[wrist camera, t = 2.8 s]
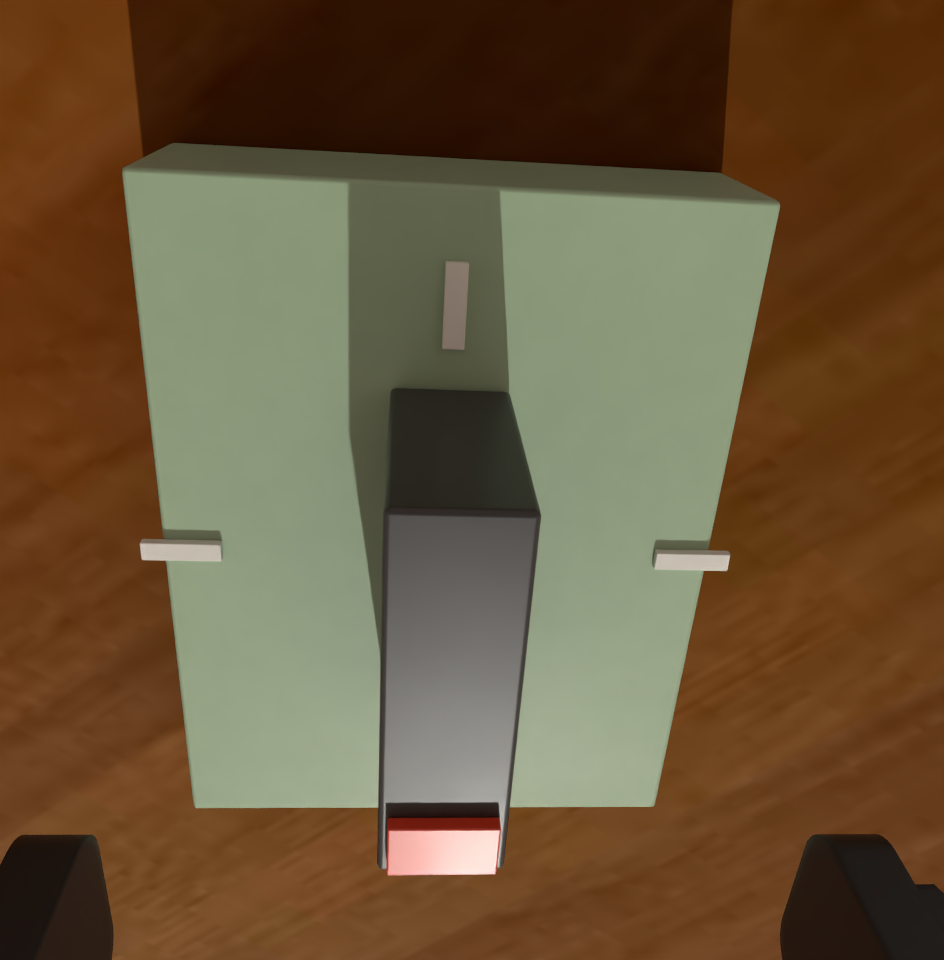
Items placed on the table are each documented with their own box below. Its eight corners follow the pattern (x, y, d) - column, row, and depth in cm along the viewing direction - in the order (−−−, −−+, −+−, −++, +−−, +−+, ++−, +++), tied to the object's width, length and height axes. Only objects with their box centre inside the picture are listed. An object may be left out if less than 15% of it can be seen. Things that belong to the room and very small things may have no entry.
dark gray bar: (390, 385, 15) (382, 518, 11) (510, 390, 15) (545, 522, 11) (384, 692, 18) (376, 885, 14) (484, 693, 18) (504, 884, 14)
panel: (149, 141, 16) (91, 166, 13) (741, 173, 16) (809, 204, 14) (205, 712, 22) (173, 816, 19) (640, 715, 22) (672, 813, 20)
